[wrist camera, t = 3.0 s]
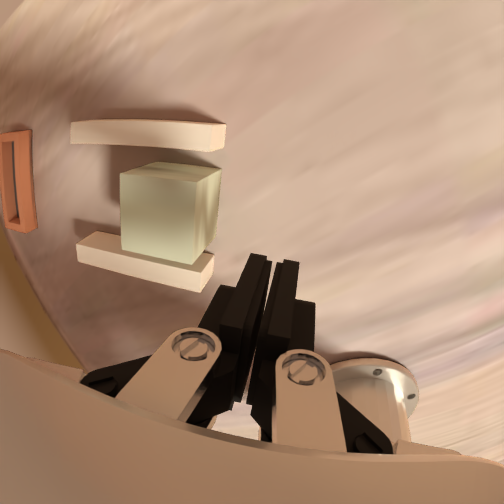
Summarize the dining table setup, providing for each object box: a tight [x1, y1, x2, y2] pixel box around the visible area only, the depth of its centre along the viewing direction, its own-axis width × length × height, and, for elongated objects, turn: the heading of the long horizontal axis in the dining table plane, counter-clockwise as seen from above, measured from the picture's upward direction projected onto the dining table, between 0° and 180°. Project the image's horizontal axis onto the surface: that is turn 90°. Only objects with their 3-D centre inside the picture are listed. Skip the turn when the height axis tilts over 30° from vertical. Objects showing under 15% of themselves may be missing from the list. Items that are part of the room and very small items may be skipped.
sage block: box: [120, 161, 222, 265], centre depth 20 cm, size 5×5×5 cm
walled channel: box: [70, 119, 226, 293], centre depth 21 cm, size 11×11×3 cm
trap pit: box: [0, 130, 38, 233], centre depth 24 cm, size 10×4×2 cm, turn 173°
